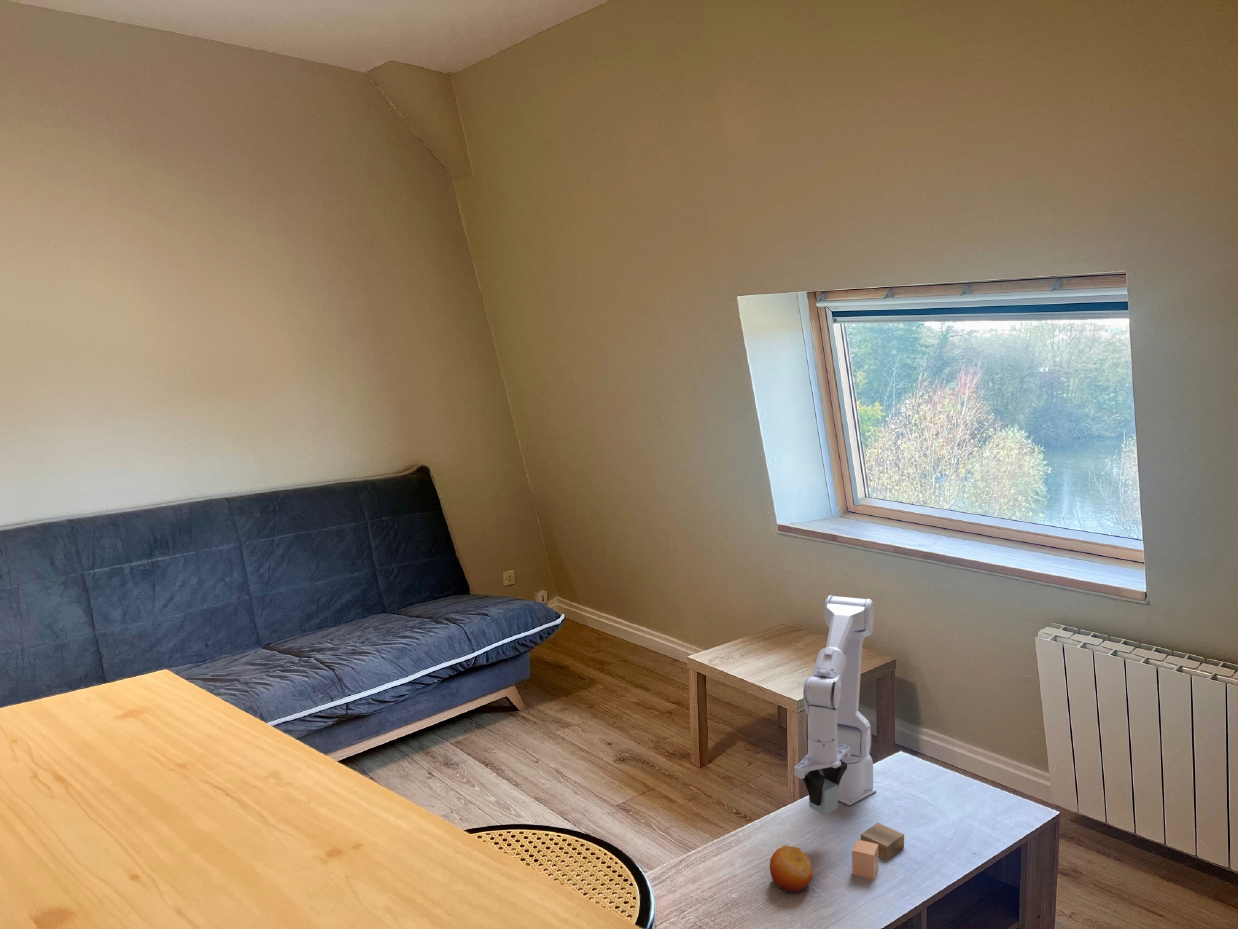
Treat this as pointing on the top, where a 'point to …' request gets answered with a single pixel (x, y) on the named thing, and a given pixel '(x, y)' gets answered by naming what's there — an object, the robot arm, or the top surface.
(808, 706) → the robot arm
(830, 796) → the grayish teal block
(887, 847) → the walnut block
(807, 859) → the fruit
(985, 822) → the top surface
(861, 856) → the terracotta block
